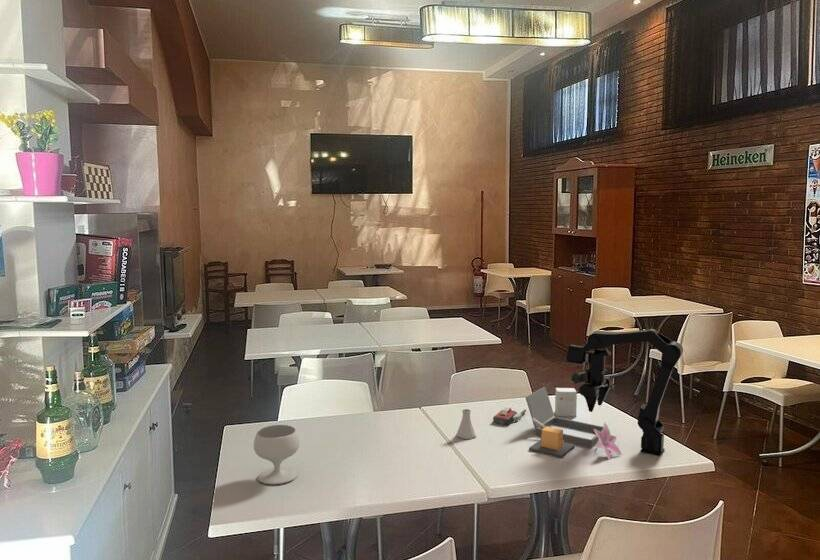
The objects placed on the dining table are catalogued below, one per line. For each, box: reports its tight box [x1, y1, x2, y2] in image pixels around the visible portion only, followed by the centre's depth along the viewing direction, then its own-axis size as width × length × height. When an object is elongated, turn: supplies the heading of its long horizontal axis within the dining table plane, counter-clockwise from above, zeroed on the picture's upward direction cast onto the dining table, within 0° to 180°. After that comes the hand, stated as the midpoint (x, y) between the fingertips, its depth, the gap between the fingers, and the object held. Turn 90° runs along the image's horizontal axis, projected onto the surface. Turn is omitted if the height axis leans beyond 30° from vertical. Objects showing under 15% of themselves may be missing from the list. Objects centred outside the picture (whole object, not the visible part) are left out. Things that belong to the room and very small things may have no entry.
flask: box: [456, 408, 477, 440], centre depth 225 cm, size 7×7×10 cm
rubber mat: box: [528, 438, 576, 459], centre depth 212 cm, size 12×12×1 cm
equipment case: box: [525, 386, 603, 448], centre depth 227 cm, size 26×18×14 cm
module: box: [541, 426, 564, 450], centre depth 212 cm, size 6×4×6 cm
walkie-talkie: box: [492, 407, 527, 426], centre depth 245 cm, size 9×4×20 cm
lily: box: [593, 421, 623, 460], centre depth 207 cm, size 12×12×10 cm
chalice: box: [253, 424, 300, 485], centre depth 189 cm, size 14×14×15 cm
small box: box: [554, 387, 578, 417], centre depth 250 cm, size 8×6×10 cm
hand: (595, 408), depth 219 cm, fingers open, 9 cm apart
